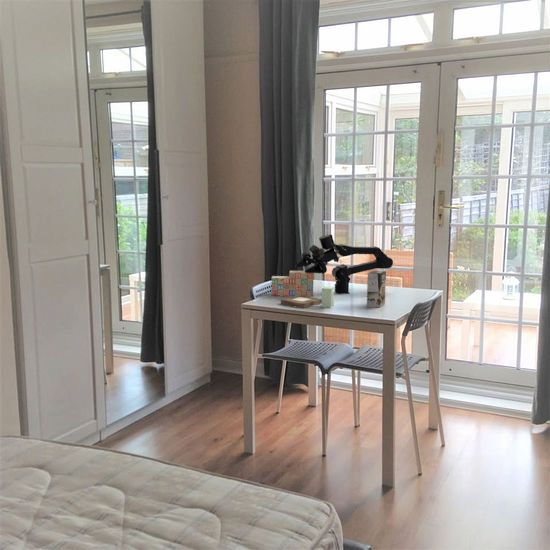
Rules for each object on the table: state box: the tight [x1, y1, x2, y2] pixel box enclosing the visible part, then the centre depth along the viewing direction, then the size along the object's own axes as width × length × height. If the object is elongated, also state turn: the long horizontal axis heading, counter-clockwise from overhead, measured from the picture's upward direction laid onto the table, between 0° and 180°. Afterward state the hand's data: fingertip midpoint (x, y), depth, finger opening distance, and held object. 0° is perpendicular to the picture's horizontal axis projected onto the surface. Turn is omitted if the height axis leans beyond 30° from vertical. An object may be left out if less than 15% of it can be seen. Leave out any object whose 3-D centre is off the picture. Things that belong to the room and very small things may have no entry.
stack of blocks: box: [271, 270, 314, 297], centre depth 314 cm, size 21×6×12 cm, turn 85°
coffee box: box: [366, 270, 387, 309], centre depth 288 cm, size 9×6×16 cm
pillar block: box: [321, 286, 335, 308], centre depth 287 cm, size 4×4×9 cm
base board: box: [280, 296, 322, 309], centre depth 294 cm, size 14×14×2 cm
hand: (300, 269), depth 308 cm, fingers open, 9 cm apart
